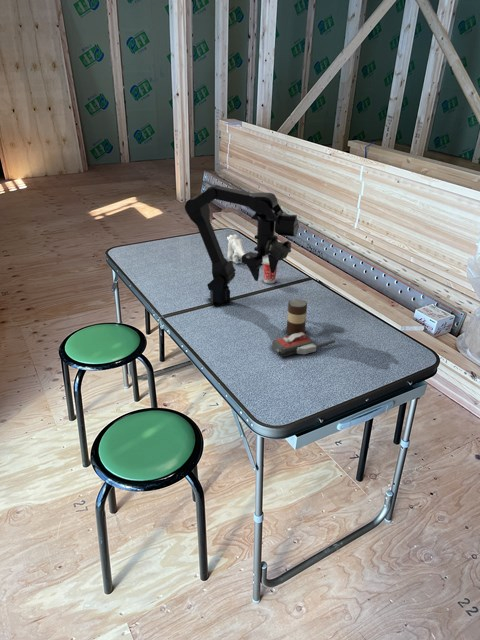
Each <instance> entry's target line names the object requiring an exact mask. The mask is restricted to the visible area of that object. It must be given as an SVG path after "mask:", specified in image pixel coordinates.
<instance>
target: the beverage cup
mask: <svg viewBox="0 0 480 640" xmlns="http://www.w3.org/2000/svg"><path fill="white" fill-rule="evenodd" d="M262 264H263V265H262V267H263V282H264V283H265V284H274V283H276V279H277V271H278V265H277V266H276V269H275V272H274V273H271V270H270V265H269V259H268V257H263V262H262Z"/></svg>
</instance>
